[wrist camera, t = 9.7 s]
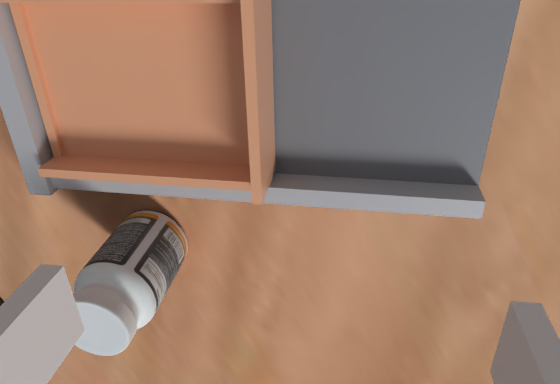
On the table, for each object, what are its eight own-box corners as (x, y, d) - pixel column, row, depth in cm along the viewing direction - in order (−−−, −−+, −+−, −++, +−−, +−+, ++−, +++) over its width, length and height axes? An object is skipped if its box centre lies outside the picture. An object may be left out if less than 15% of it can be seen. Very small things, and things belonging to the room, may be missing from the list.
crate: (66, 157, 32) (25, 187, 28) (18, -15, 26) (-42, -7, 23) (275, 169, 30) (262, 204, 26) (270, -16, 24) (252, -7, 20)
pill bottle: (118, 251, 37) (45, 343, 29) (128, 196, 34) (50, 282, 26) (182, 274, 38) (128, 374, 29) (197, 222, 35) (142, 316, 26)
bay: (59, 171, 34) (29, 194, 31) (-6, -52, 27) (-53, -50, 24) (470, 198, 30) (482, 227, 27) (528, -62, 22) (553, -61, 19)
